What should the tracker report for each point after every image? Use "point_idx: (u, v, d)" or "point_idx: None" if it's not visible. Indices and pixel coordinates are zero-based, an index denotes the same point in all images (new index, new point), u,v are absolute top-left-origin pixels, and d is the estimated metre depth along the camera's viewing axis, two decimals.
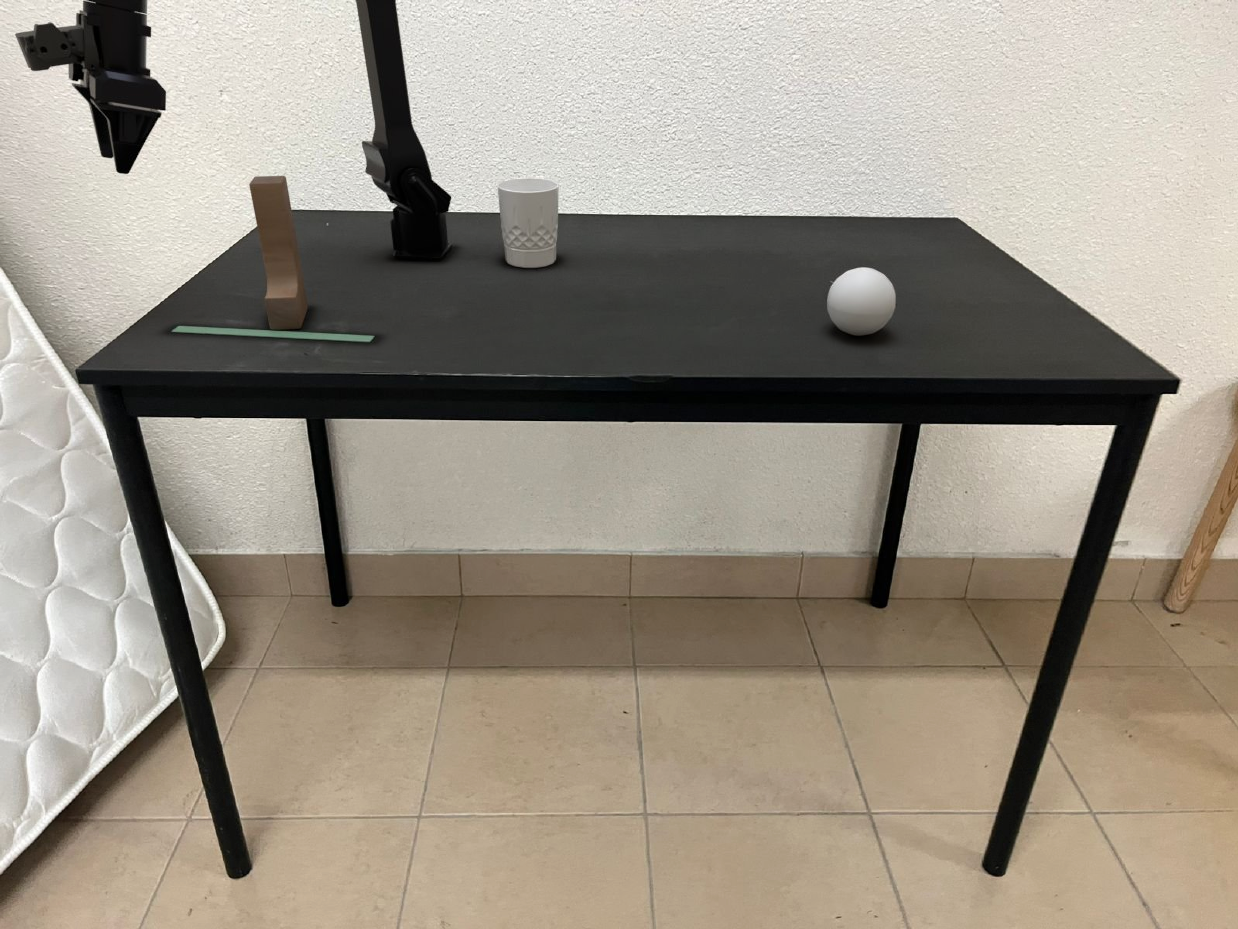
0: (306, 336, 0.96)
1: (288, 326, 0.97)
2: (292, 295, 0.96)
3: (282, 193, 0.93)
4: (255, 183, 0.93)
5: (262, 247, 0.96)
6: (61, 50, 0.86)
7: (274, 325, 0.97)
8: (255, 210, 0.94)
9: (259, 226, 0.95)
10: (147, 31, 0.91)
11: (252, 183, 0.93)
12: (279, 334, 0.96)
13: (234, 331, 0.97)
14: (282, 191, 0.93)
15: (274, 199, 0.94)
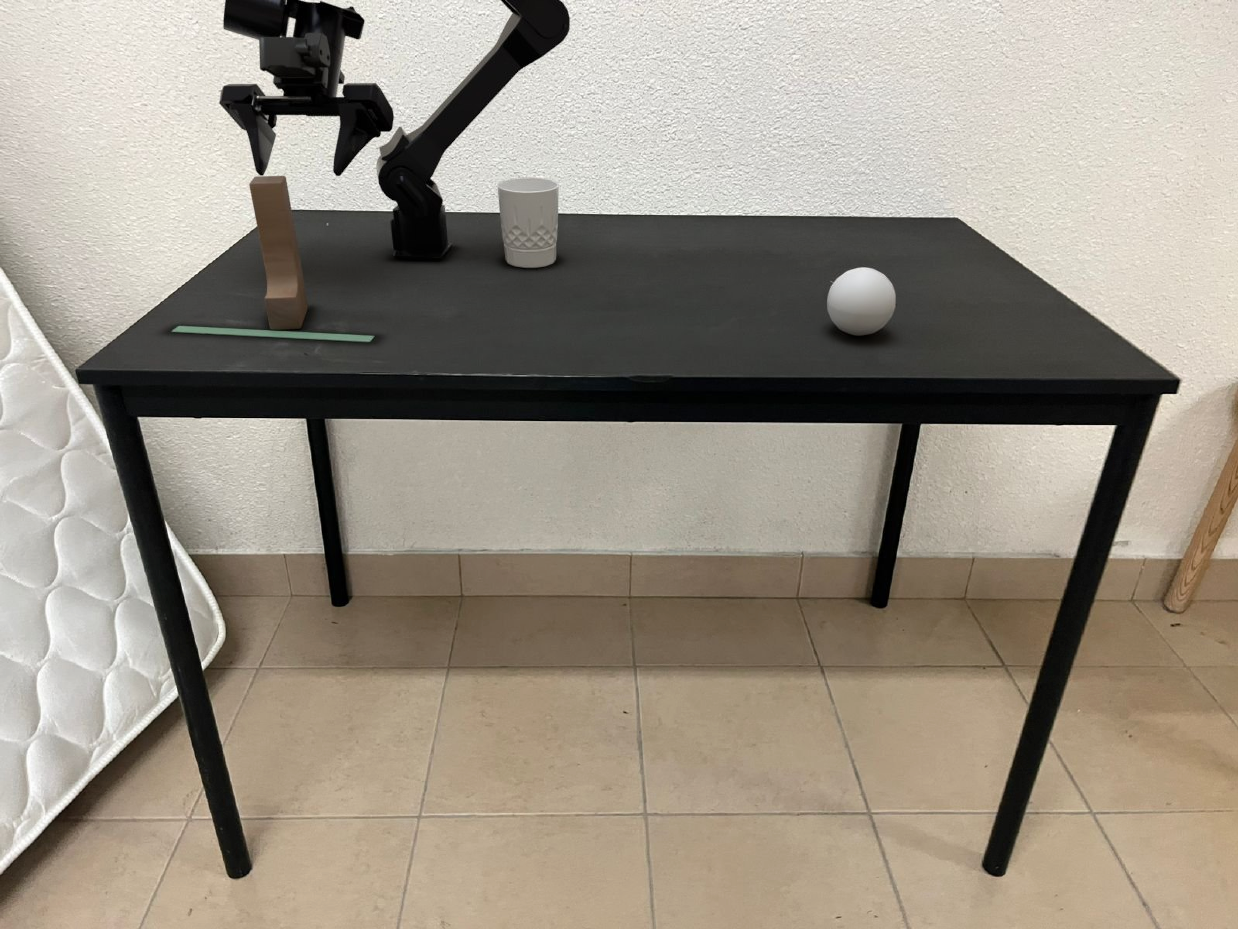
0: (306, 336, 0.96)
1: (288, 326, 0.97)
2: (292, 295, 0.96)
3: (282, 193, 0.93)
4: (255, 183, 0.93)
5: (262, 247, 0.96)
6: (326, 59, 0.98)
7: (274, 325, 0.97)
8: (255, 210, 0.94)
9: (259, 226, 0.95)
10: (343, 78, 1.07)
11: (252, 183, 0.93)
12: (279, 334, 0.96)
13: (234, 331, 0.97)
14: (282, 191, 0.93)
15: (274, 199, 0.94)
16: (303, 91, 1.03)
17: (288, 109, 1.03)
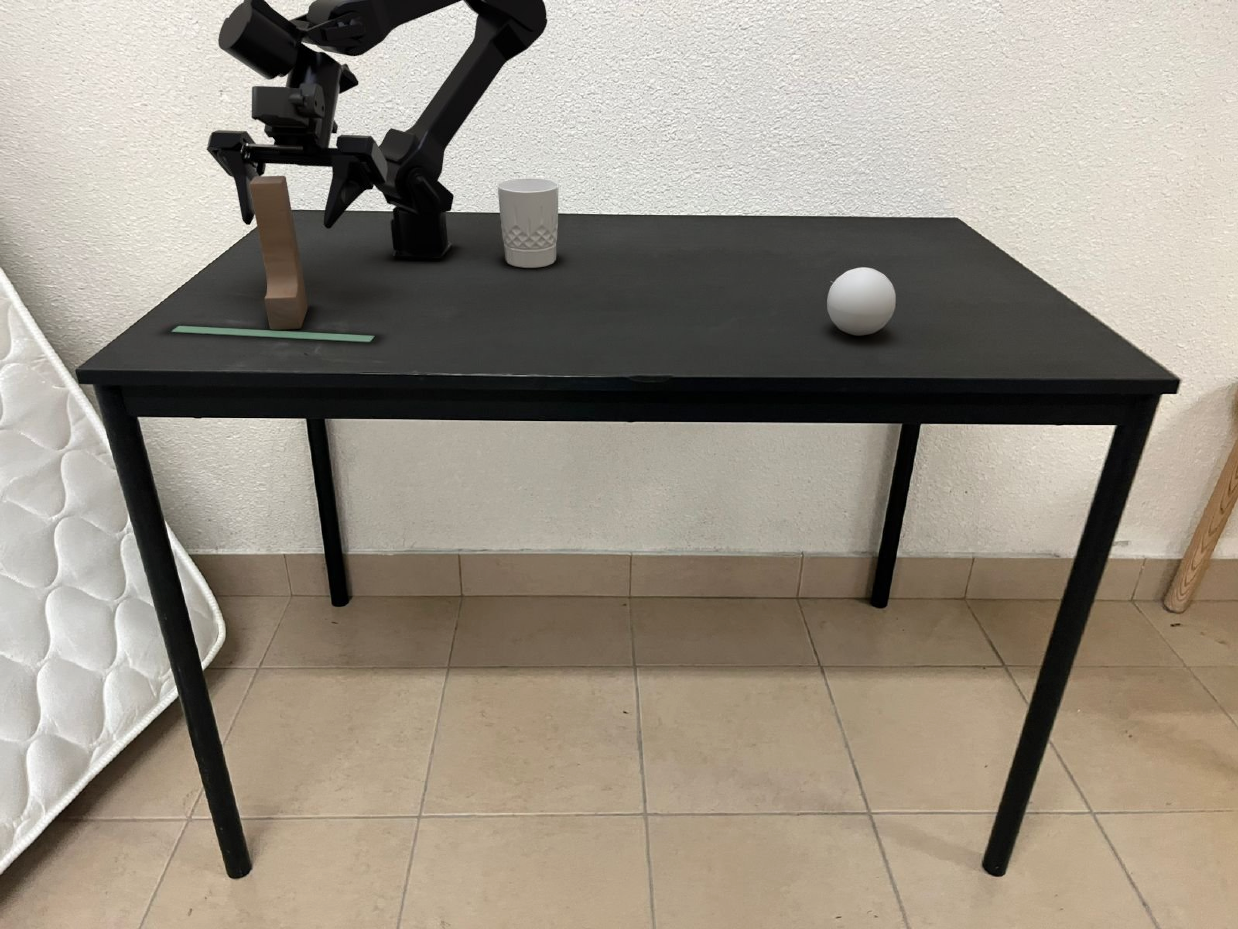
0: (306, 336, 0.96)
1: (288, 326, 0.97)
2: (292, 295, 0.96)
3: (282, 193, 0.93)
4: (255, 183, 0.93)
5: (262, 247, 0.96)
6: (321, 110, 0.95)
7: (274, 325, 0.97)
8: (255, 210, 0.94)
9: (259, 226, 0.95)
10: (336, 128, 1.04)
11: (252, 183, 0.93)
12: (279, 334, 0.96)
13: (234, 331, 0.97)
14: (282, 191, 0.93)
15: (274, 199, 0.94)
16: (295, 140, 1.00)
17: (278, 158, 1.00)
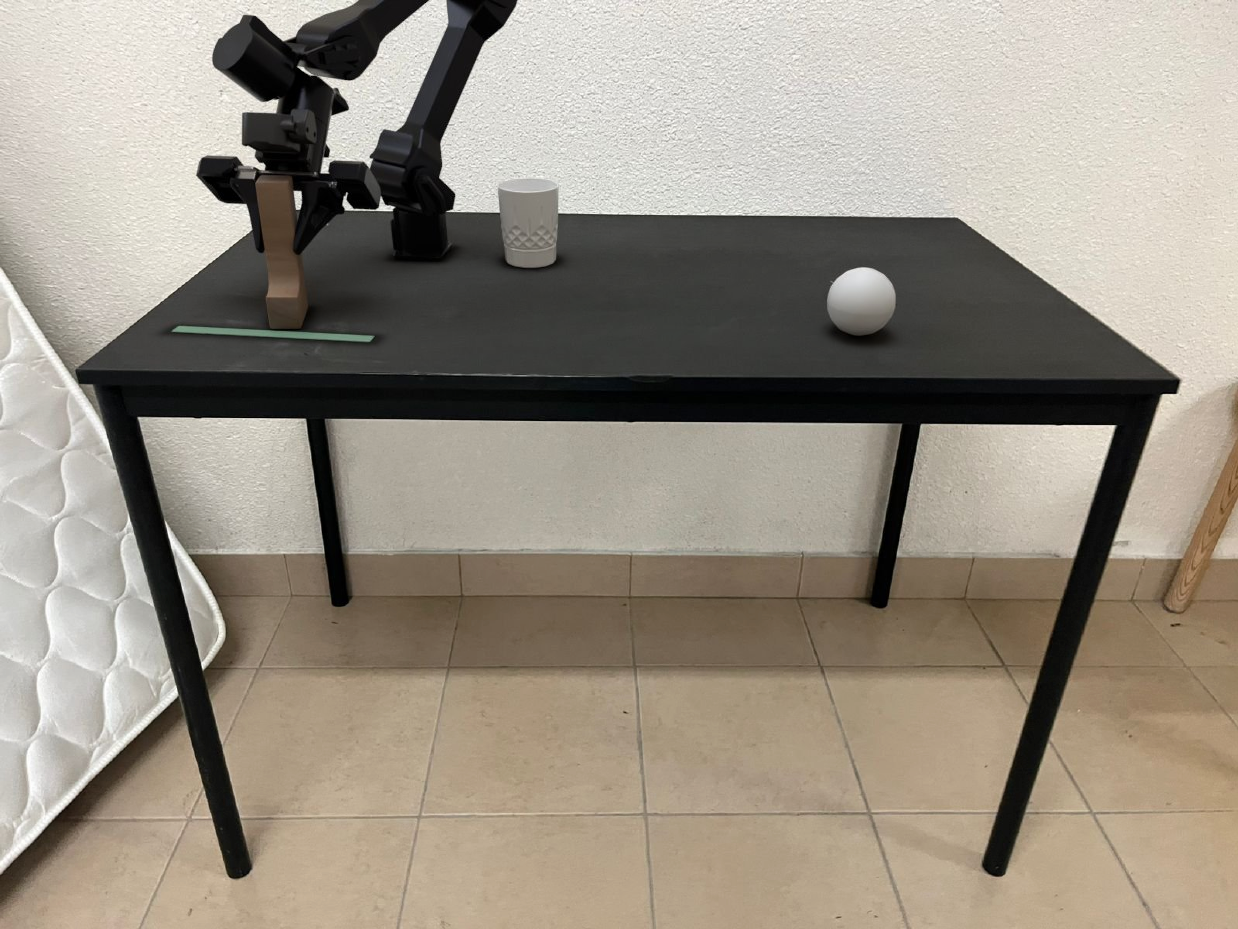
0: (306, 336, 0.96)
1: (288, 326, 0.97)
2: (293, 295, 0.96)
3: (288, 193, 0.94)
4: (261, 182, 0.93)
5: (265, 246, 0.96)
6: (313, 136, 0.94)
7: (274, 325, 0.97)
8: (260, 209, 0.94)
9: (263, 225, 0.95)
10: (328, 152, 1.02)
11: (258, 182, 0.93)
12: (279, 334, 0.96)
13: (234, 331, 0.97)
14: (288, 191, 0.94)
15: (279, 198, 0.94)
16: (286, 166, 0.98)
17: None
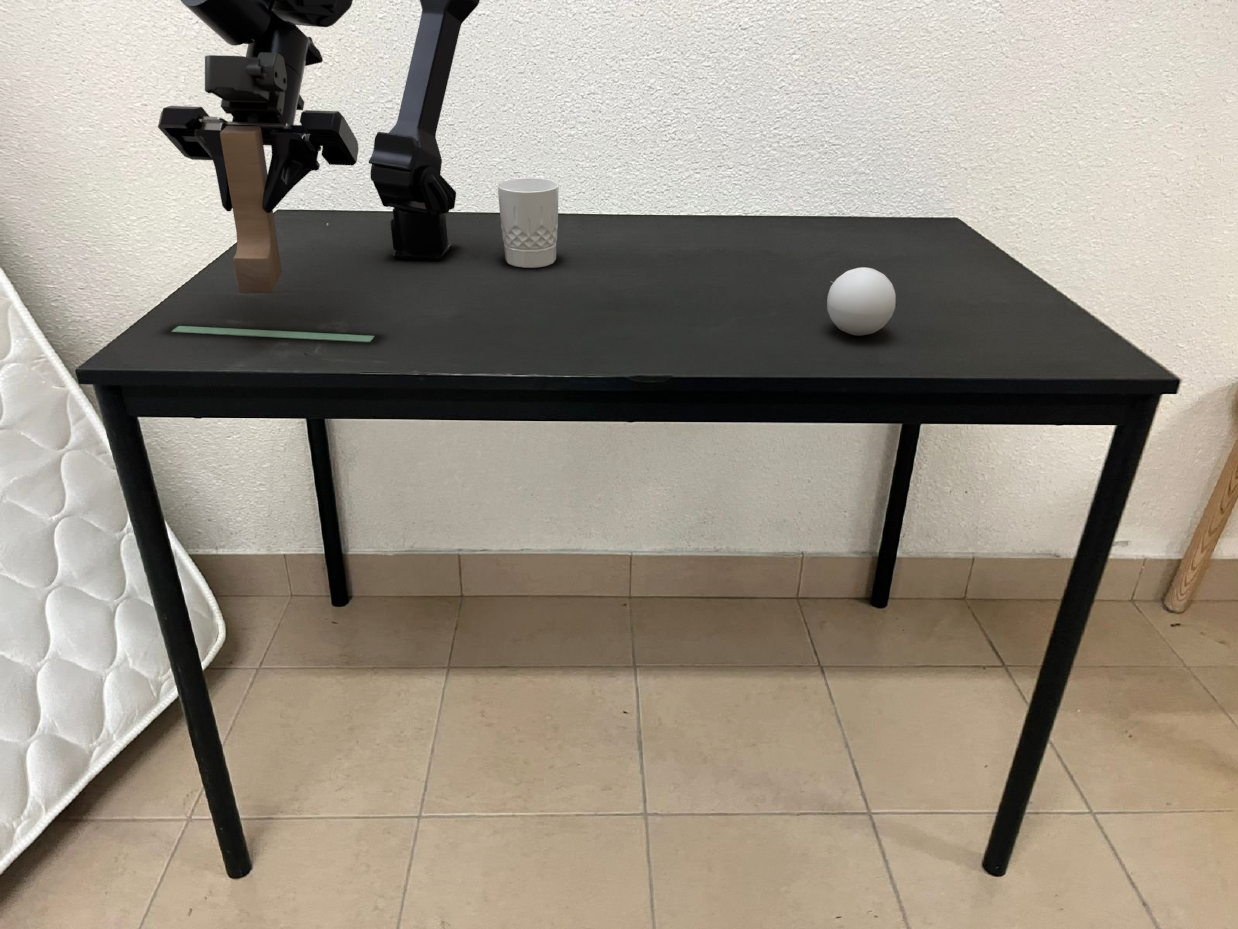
0: (306, 336, 0.96)
1: (258, 290, 0.90)
2: (263, 256, 0.89)
3: (255, 144, 0.86)
4: (226, 132, 0.85)
5: (232, 203, 0.89)
6: (283, 82, 0.86)
7: (243, 288, 0.90)
8: (226, 162, 0.87)
9: (230, 180, 0.87)
10: (302, 104, 0.95)
11: (223, 132, 0.85)
12: (279, 334, 0.96)
13: (234, 331, 0.97)
14: (256, 142, 0.86)
15: (246, 150, 0.86)
16: (255, 117, 0.91)
17: None
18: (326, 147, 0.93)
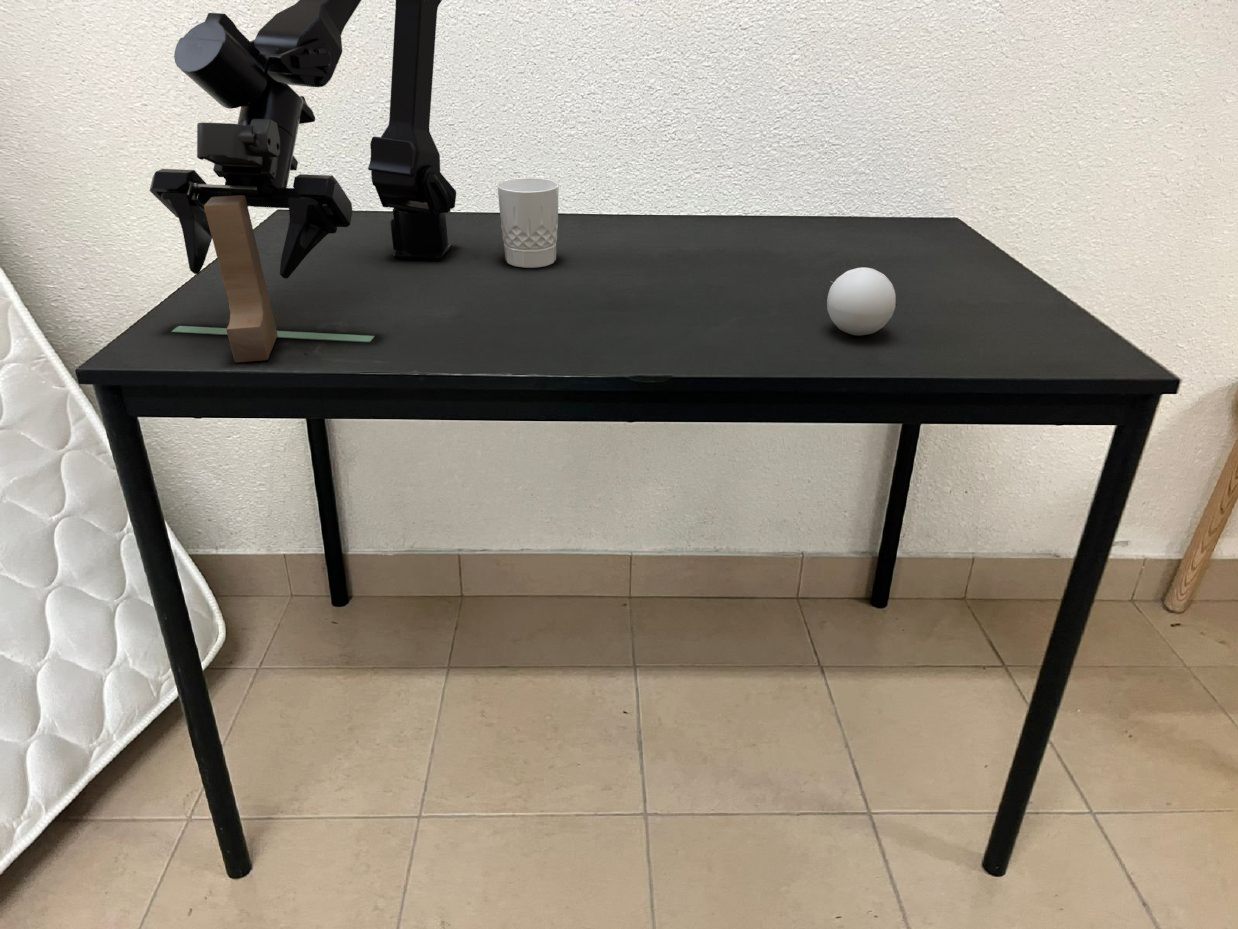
0: (306, 336, 0.96)
1: (254, 358, 0.90)
2: (256, 325, 0.88)
3: (240, 215, 0.86)
4: (210, 205, 0.85)
5: (222, 273, 0.88)
6: (276, 148, 0.86)
7: (239, 358, 0.90)
8: (212, 234, 0.86)
9: (217, 251, 0.87)
10: (295, 164, 0.94)
11: (207, 205, 0.85)
12: (279, 334, 0.96)
13: None
14: (240, 212, 0.86)
15: (231, 221, 0.86)
16: (248, 180, 0.90)
17: None
18: None
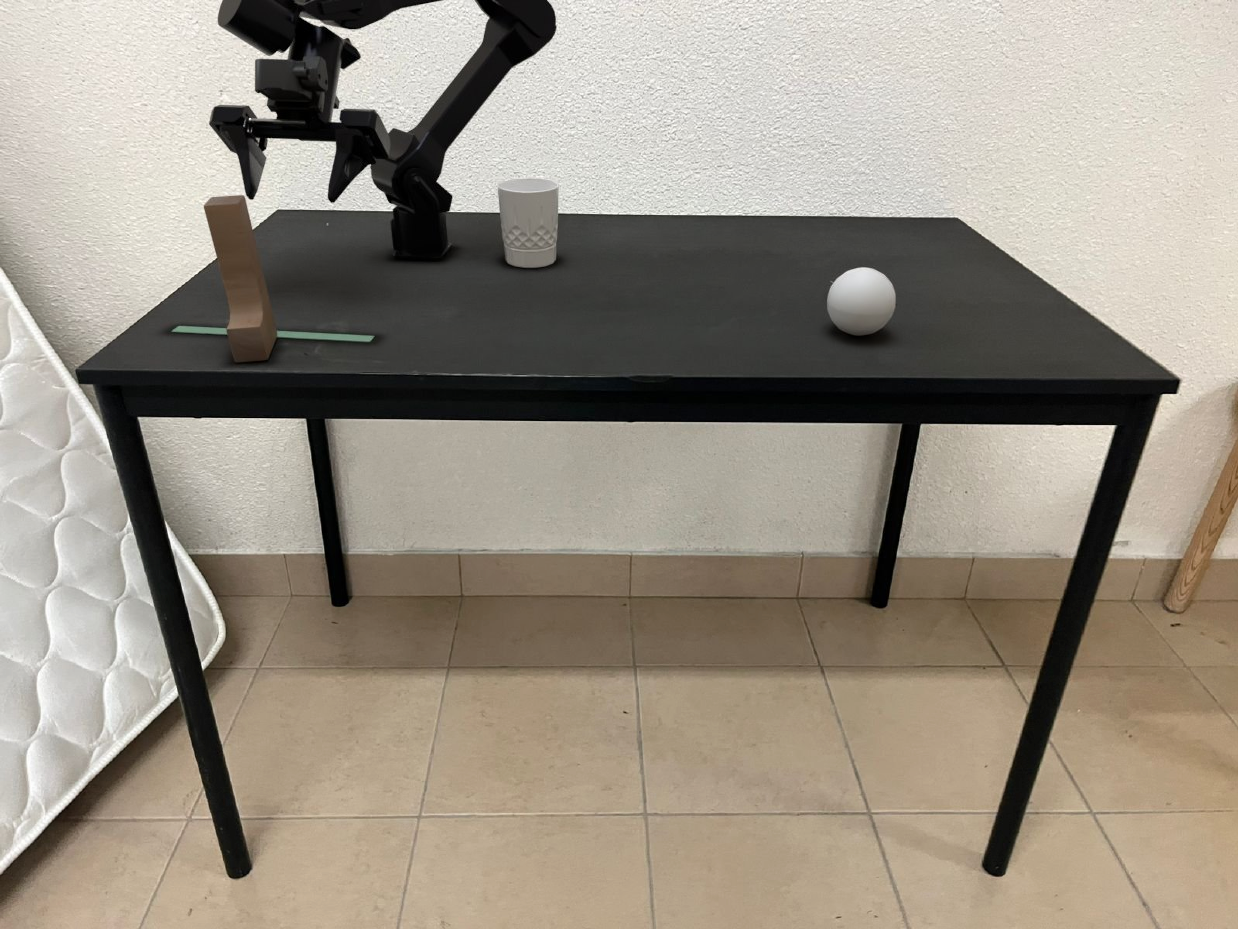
0: (306, 336, 0.96)
1: (254, 358, 0.90)
2: (256, 325, 0.88)
3: (240, 215, 0.86)
4: (210, 205, 0.85)
5: (222, 273, 0.88)
6: (324, 83, 0.95)
7: (239, 358, 0.90)
8: (212, 234, 0.86)
9: (217, 251, 0.87)
10: (338, 103, 1.04)
11: (206, 205, 0.85)
12: (279, 334, 0.96)
13: None
14: (240, 212, 0.86)
15: (231, 221, 0.86)
16: (297, 115, 1.00)
17: (281, 133, 1.00)
18: None
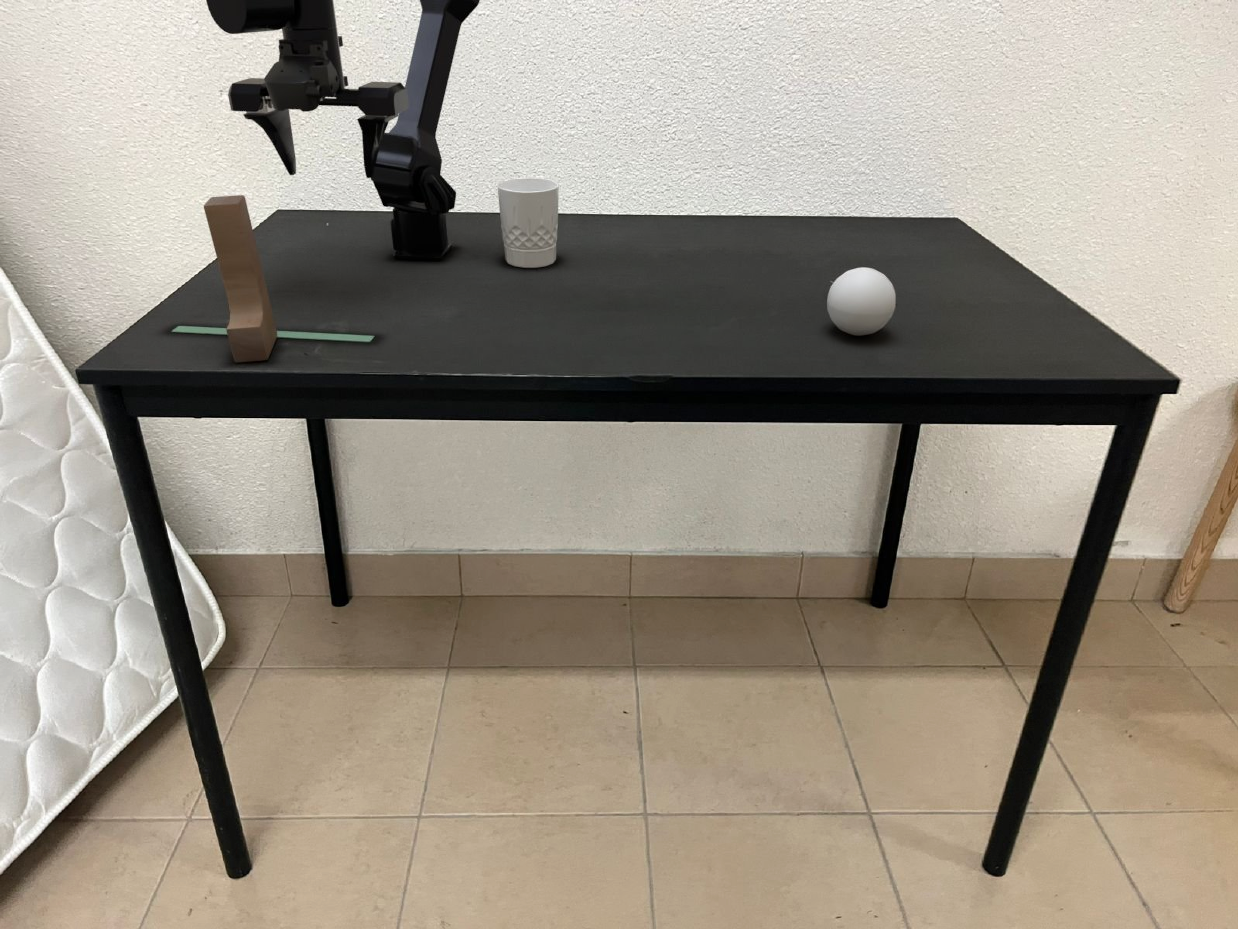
0: (306, 336, 0.96)
1: (254, 358, 0.90)
2: (256, 325, 0.88)
3: (240, 215, 0.86)
4: (210, 205, 0.85)
5: (222, 273, 0.88)
6: (336, 82, 0.94)
7: (239, 358, 0.90)
8: (212, 234, 0.86)
9: (217, 251, 0.87)
10: (341, 41, 0.99)
11: (206, 205, 0.85)
12: (279, 334, 0.96)
13: None
14: (240, 212, 0.86)
15: (231, 221, 0.86)
16: None
17: None
18: None
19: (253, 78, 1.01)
